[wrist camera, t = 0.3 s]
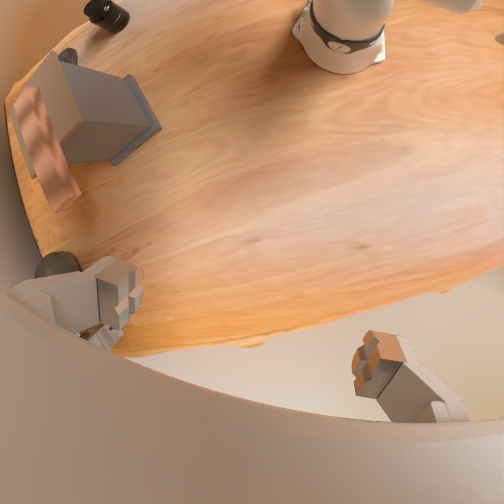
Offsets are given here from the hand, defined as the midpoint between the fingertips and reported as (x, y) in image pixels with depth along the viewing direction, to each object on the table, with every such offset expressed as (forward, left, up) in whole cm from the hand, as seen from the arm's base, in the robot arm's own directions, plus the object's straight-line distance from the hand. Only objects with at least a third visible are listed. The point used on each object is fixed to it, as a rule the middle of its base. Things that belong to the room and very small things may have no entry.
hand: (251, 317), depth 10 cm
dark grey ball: (+37, -51, -48) cm, 79 cm away
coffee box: (+52, -38, -48) cm, 80 cm away
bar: (-1, -35, -22) cm, 42 cm away
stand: (-5, -40, -48) cm, 63 cm away
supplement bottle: (-31, -51, -48) cm, 77 cm away
